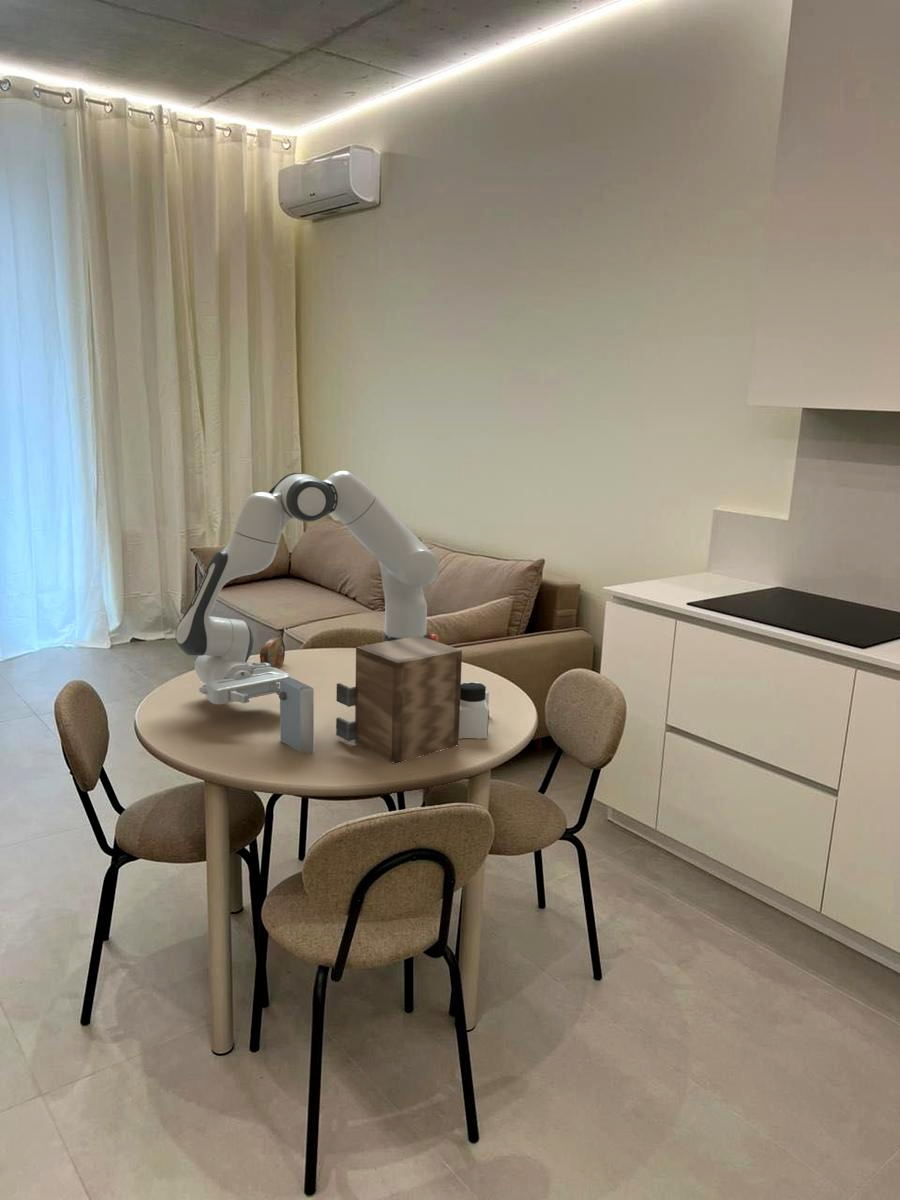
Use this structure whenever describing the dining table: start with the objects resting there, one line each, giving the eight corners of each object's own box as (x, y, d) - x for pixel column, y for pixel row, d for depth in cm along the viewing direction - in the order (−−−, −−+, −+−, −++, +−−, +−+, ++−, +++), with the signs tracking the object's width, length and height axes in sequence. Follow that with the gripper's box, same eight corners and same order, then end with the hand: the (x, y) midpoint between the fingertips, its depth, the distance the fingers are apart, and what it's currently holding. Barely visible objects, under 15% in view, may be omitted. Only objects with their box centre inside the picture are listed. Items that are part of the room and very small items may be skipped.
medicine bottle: (487, 739, 203) (490, 689, 201) (456, 739, 203) (458, 688, 200) (484, 728, 210) (486, 679, 208) (454, 728, 210) (455, 679, 207)
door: (275, 741, 198) (274, 681, 195) (292, 737, 200) (291, 677, 197) (298, 755, 190) (298, 693, 187) (316, 751, 193) (316, 689, 190)
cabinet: (406, 721, 213) (408, 632, 208) (458, 745, 199) (462, 650, 194) (336, 739, 200) (336, 644, 196) (386, 766, 186) (388, 664, 182)
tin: (269, 677, 243) (269, 647, 241) (258, 677, 243) (257, 647, 242) (285, 662, 258) (285, 634, 256) (275, 661, 258) (275, 633, 256)
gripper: (195, 675, 208) (222, 690, 197) (273, 661, 221) (302, 675, 210) (196, 701, 209) (223, 717, 199) (273, 685, 222) (303, 700, 212)
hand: (265, 695), depth 205 cm, fingers open, 8 cm apart
